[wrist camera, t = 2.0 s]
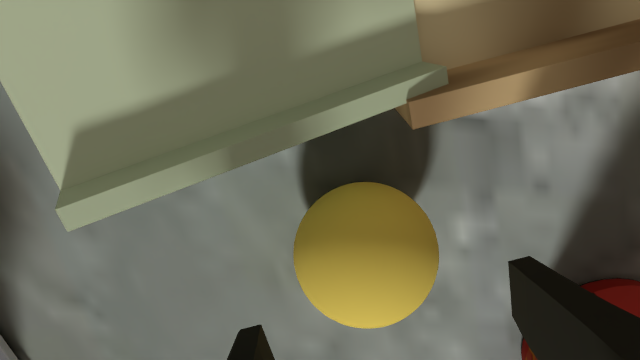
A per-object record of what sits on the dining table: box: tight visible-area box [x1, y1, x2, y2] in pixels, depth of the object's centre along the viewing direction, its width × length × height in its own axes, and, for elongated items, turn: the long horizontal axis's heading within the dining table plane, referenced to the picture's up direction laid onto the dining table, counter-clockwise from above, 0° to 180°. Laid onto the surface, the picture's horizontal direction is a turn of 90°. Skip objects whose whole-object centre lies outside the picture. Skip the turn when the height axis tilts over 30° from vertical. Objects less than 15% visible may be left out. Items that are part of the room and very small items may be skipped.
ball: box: [294, 182, 439, 328], centre depth 16 cm, size 5×5×5 cm
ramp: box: [0, 0, 449, 232], centre depth 12 cm, size 11×7×6 cm, turn 104°
